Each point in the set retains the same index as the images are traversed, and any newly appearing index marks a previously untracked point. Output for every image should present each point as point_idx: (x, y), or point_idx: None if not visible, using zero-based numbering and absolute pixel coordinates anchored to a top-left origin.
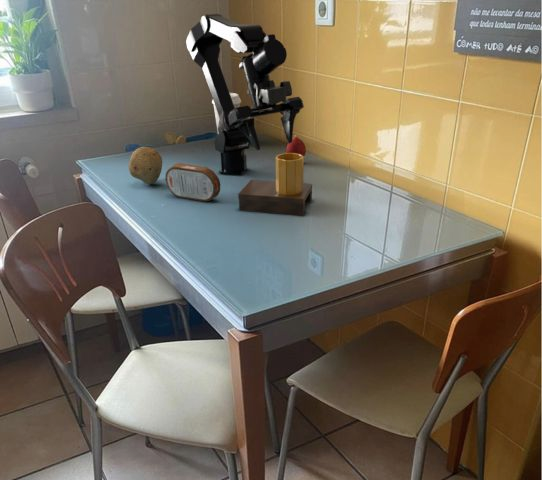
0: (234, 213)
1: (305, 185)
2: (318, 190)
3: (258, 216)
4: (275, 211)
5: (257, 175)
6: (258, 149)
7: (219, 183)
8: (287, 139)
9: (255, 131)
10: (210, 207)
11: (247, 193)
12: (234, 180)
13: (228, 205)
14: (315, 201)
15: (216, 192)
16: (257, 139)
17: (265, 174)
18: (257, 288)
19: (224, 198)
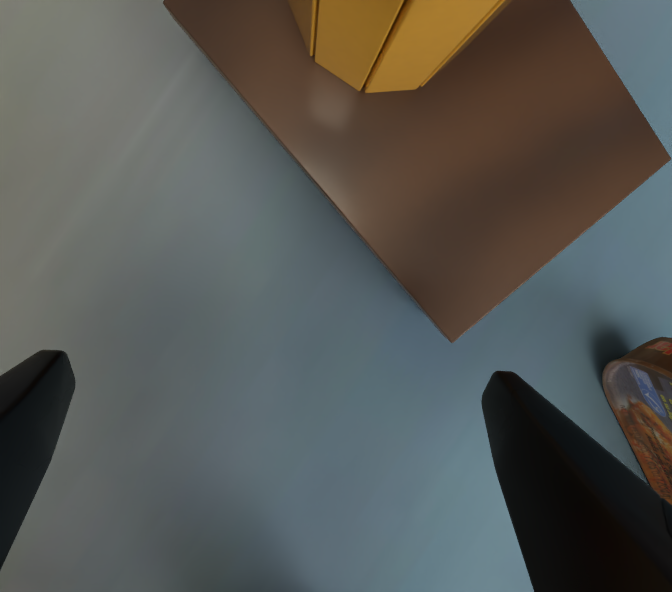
0: None
1: (228, 4)
2: (61, 165)
3: None
4: None
5: (225, 559)
6: (510, 373)
7: (659, 367)
8: (56, 432)
9: (651, 553)
10: (669, 294)
11: (629, 125)
12: (365, 553)
13: (592, 266)
14: None
15: (653, 342)
16: (567, 445)
17: (179, 552)
18: None
19: (550, 361)
